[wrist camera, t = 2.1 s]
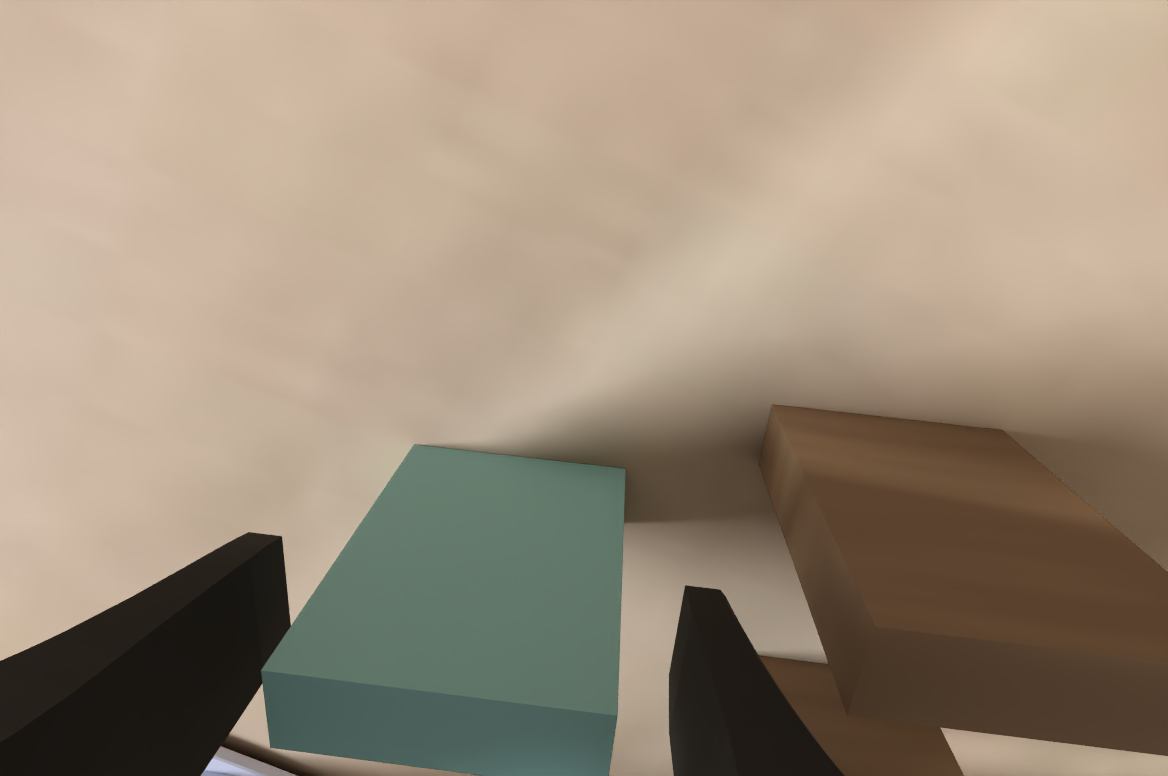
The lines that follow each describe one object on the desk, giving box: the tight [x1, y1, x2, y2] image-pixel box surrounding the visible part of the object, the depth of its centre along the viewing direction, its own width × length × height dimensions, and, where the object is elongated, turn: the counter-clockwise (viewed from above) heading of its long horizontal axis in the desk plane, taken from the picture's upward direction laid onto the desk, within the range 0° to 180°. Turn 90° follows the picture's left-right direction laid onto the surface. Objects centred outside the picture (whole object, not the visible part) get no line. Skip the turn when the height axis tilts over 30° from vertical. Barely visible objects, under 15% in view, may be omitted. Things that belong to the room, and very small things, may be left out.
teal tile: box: [261, 445, 626, 776], centre depth 13 cm, size 2×5×7 cm, turn 85°
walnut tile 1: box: [759, 405, 1168, 756], centre depth 12 cm, size 2×5×7 cm, turn 85°
